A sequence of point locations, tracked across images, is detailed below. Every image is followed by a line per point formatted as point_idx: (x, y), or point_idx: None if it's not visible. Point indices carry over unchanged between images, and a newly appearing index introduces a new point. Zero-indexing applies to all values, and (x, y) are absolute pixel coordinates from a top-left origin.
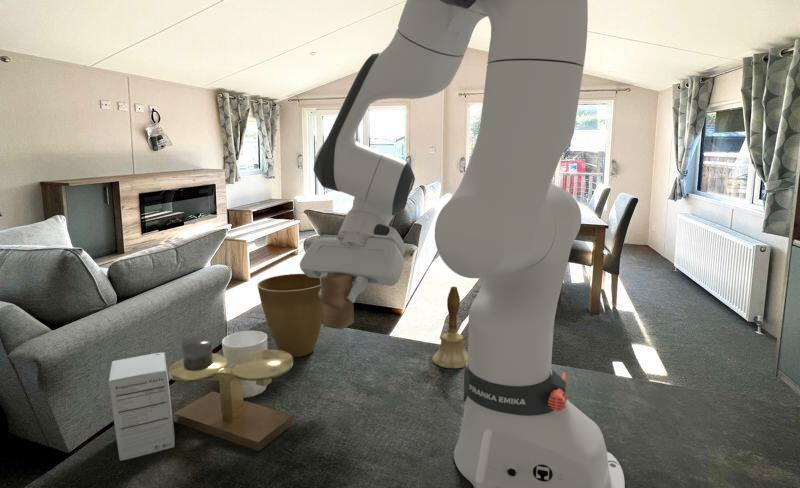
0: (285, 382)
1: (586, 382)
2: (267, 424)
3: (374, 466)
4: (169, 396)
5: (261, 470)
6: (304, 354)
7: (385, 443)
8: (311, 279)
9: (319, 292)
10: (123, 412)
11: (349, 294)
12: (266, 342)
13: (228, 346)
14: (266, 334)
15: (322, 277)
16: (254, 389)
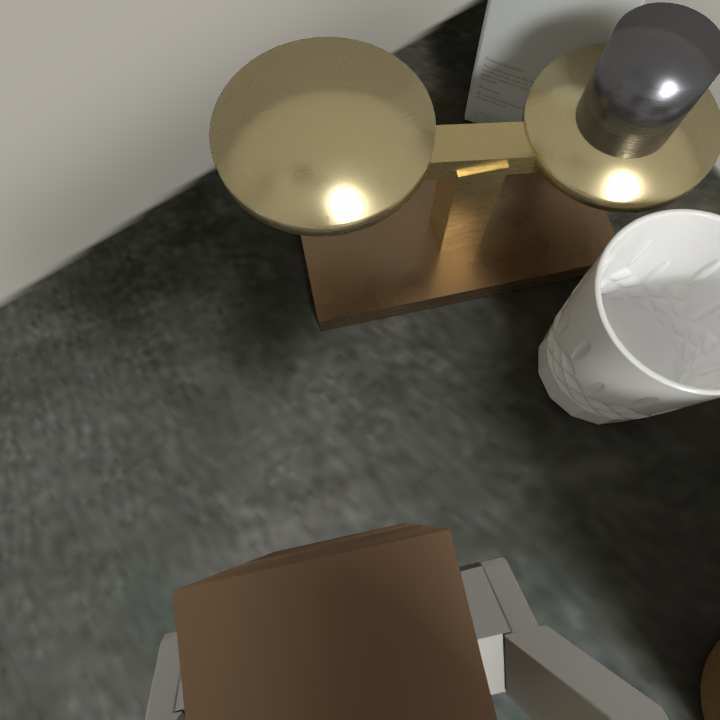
0: (545, 471)
1: None
2: (338, 255)
3: (32, 334)
4: (493, 10)
5: None
6: (701, 684)
7: (54, 416)
8: None
9: (501, 568)
10: None
11: (178, 657)
12: (616, 360)
13: (660, 212)
14: (674, 386)
15: (447, 554)
16: (544, 345)
